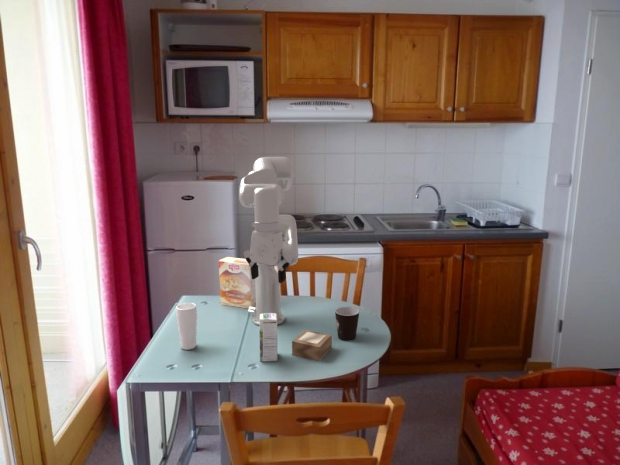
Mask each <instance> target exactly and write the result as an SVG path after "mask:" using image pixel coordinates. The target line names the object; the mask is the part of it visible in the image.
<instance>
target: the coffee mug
mask: <svg viewBox="0 0 620 465" xmlns="http://www.w3.org/2000/svg"><path fill="white" fill-rule="evenodd" d="M334 313H335V322H336V323H335V324H336V331H337V332H336V333H337V339H339V341H340V340H341V341H345V342H350V341H351V342H352V341H354V340H355V339H356V337H357V331H358V325H359V324H358V323H359V317H360V310H359V309H358V308H356V307H353V306H340V307H337V308H335V310H334Z"/></svg>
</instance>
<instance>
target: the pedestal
mask: <svg viewBox="0 0 620 465" xmlns="http://www.w3.org/2000/svg"><path fill="white" fill-rule="evenodd" d="M332 348H333V336H332V334H327V333H322V332H318V331H317V332H316V331H310V330H308V329H305V330H304V331H303V332H302V333H300V334H299V335H298V336H296V338H294V339H293V340H292V341H291V355H292V356H295V357H301V358H305V359H310V360H313V361H317V362H318V361H321V360H322V359H324V357H325V356H326V355H327V354H328V353H329V352H330V351H331V350H332Z"/></svg>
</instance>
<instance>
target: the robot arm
mask: <svg viewBox="0 0 620 465" xmlns="http://www.w3.org/2000/svg"><path fill="white" fill-rule="evenodd" d="M252 166H253V167H252V168H253V169H252V170H251V171H250V172H249V173H248V174H247V175H245V176H244V177H243V178H242V179H241V180H240V184H239V188H238V198H239V203H240V205H241V206H243V207H244V208H254V222H251V226H252V227H254V230H252V232H251V236H250V237H251V239H250V247H249V249H247V250H245V251H243V253H242V254H243V256H244V259H246V261H247V262H248V263H249V266H250V267H251V275H252V279H255V294H256V306H254V307H252V306H250V307H249V309H248V310H247V312H248V314H252V315H253V316H252V318H251V321H252V323H254V324H255V325H257V326H260V314H263V313H276V314H277V326H278V325H281V324H282V323H283V322H284V321H285V315H284V314H283V313H281V283H283V282H285V281H286V279H287V276H286V275H287V272H286V269H288V267H289V266H295V265H296V264H297V263H298V260H299V243H298V230H297V229H298V228H297V223H296V222H297V221H296V219H295V217H294V216H293V215H291V214H280V208H279V207H280V206H281V205H282V203H283V202H284V200H285V193H284V192H285V191H286V192H287V191H289V190H290V189H291V188H292V186H293V177H294V166H293V162H292V160H291V159H290V158H289V157H287V156H263V157H259V158H257V159H255V161H254V163H253V165H252ZM275 267H277V268H278V269H279V270H278V271H277V270H276V269H275Z"/></svg>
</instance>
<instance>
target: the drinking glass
mask: <svg viewBox="0 0 620 465" xmlns="http://www.w3.org/2000/svg"><path fill="white" fill-rule="evenodd" d="M197 312H198V311H197V305H196V303H194V302H183V303H182V302H181V303H179V304H177V305H176V307H175V315H176V322H177V329H178V335H179V342H180V348H181V349H182V350H185V351H188V350H189V351H190V350H194V348H196V347H197V327H198V313H197Z"/></svg>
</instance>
